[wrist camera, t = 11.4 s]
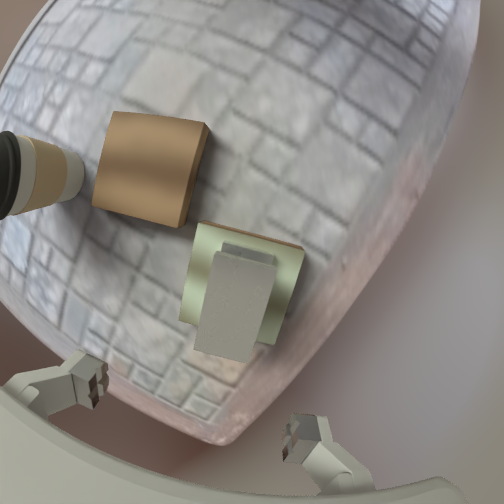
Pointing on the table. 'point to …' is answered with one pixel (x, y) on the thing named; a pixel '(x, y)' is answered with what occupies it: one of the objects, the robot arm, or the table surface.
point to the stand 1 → (149, 166)
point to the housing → (235, 301)
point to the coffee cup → (35, 174)
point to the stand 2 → (284, 253)
